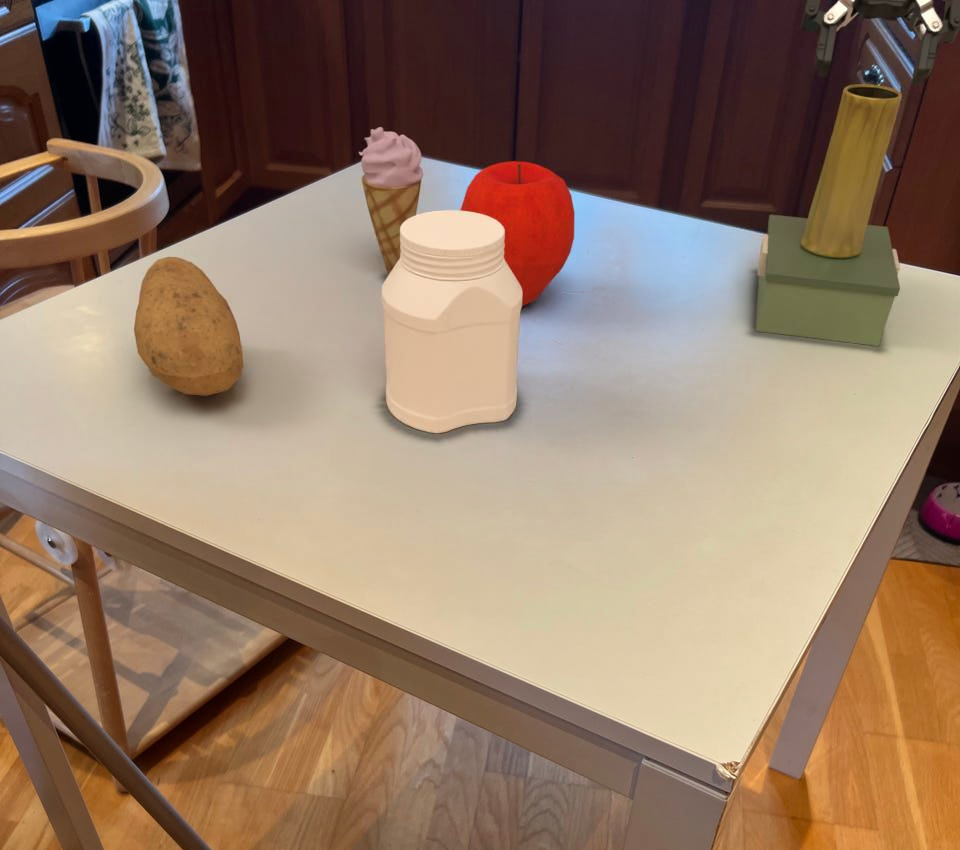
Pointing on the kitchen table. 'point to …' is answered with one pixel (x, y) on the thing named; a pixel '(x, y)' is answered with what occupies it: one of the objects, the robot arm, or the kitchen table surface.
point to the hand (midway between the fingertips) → (871, 75)
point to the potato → (187, 329)
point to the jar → (451, 323)
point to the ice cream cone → (390, 187)
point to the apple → (526, 219)
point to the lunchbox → (825, 286)
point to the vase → (851, 171)
